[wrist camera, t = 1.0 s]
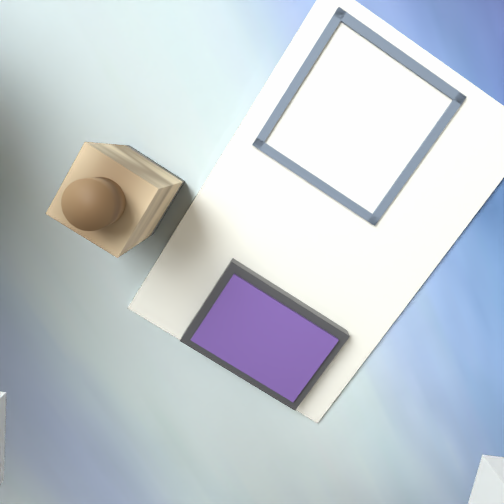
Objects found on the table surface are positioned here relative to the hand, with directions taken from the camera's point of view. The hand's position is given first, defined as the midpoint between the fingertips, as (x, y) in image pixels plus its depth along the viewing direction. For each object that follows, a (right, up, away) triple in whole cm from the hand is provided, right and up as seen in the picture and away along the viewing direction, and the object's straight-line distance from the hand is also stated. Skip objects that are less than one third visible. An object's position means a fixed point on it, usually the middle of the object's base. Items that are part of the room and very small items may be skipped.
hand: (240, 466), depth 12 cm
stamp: (-8, +10, +20) cm, 23 cm away
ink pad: (+1, 0, +21) cm, 21 cm away
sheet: (+5, +8, +20) cm, 22 cm away
